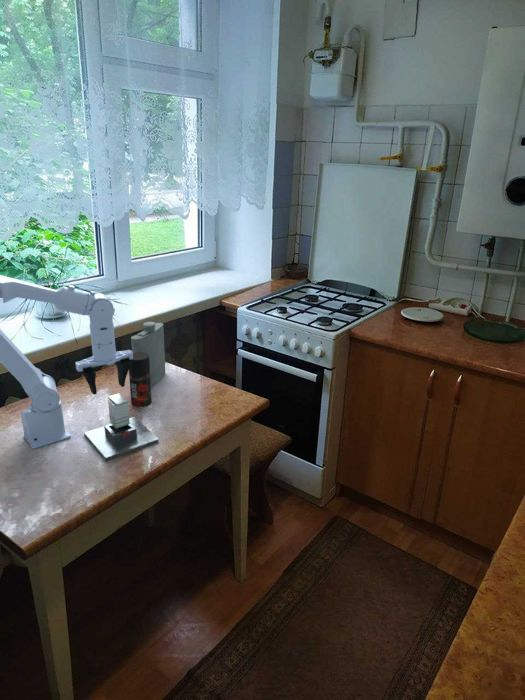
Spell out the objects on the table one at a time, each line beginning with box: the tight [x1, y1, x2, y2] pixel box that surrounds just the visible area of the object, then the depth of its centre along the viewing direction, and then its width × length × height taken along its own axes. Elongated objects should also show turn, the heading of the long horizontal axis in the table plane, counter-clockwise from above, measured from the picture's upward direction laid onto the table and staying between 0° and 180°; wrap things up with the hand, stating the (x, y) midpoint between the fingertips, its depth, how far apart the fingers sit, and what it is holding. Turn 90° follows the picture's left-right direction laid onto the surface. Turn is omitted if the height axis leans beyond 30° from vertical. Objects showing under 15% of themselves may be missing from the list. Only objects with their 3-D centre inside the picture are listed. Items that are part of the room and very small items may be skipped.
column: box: [107, 393, 130, 428], centre depth 124 cm, size 4×5×7 cm
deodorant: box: [128, 352, 153, 409], centre depth 143 cm, size 6×6×15 cm
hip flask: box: [130, 321, 167, 388], centre depth 155 cm, size 16×4×20 cm, turn 161°
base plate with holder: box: [83, 416, 160, 462], centre depth 127 cm, size 14×14×4 cm
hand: (108, 389), depth 131 cm, fingers open, 7 cm apart
